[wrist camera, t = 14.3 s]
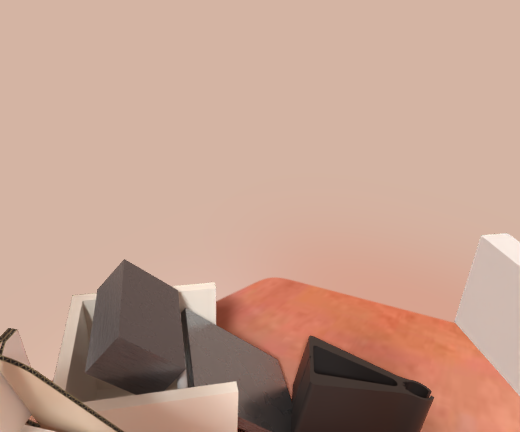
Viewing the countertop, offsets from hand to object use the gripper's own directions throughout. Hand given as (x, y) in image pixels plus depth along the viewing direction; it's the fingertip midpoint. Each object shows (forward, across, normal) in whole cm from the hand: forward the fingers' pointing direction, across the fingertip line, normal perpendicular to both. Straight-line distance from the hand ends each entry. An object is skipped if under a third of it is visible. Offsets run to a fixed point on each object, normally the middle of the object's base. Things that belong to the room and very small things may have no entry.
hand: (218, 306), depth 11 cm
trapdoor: (+23, +1, -26) cm, 35 cm away
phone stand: (+22, +11, -28) cm, 37 cm away
